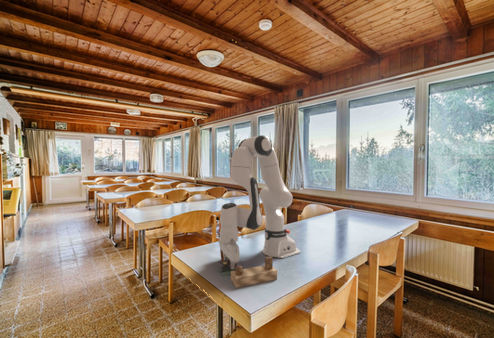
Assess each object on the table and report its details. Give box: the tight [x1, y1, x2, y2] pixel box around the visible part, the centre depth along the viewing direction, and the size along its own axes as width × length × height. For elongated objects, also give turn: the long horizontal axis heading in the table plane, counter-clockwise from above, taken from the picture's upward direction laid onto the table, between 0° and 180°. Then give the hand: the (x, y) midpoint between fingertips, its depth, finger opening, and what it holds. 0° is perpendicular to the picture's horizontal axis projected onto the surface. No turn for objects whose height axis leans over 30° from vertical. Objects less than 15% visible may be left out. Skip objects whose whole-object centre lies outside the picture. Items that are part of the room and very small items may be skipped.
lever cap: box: [218, 261, 238, 273], centre depth 114 cm, size 8×4×4 cm, turn 113°
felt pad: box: [217, 266, 235, 276], centre depth 114 cm, size 8×8×1 cm
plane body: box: [229, 256, 278, 289], centre depth 105 cm, size 21×7×9 cm, turn 113°
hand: (229, 264), depth 113 cm, fingers open, 8 cm apart
